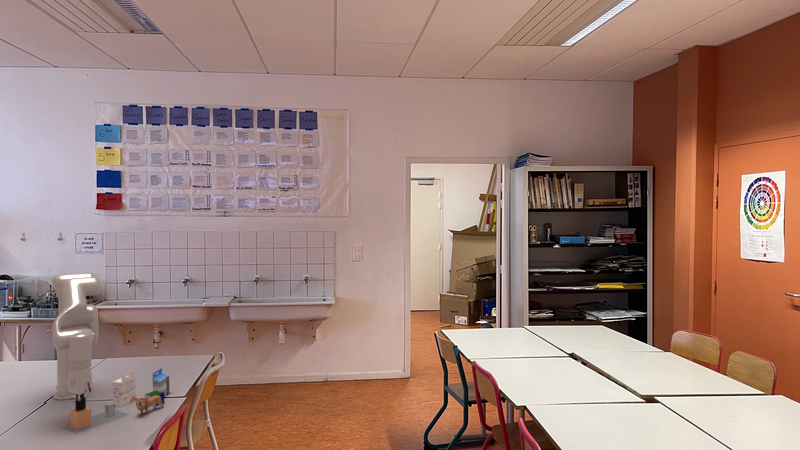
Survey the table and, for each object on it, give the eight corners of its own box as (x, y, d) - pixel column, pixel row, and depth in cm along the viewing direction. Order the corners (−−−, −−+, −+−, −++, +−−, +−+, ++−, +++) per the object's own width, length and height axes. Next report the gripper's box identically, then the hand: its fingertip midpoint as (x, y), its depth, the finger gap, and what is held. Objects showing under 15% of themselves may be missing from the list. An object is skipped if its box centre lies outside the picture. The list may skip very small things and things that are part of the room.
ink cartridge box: (126, 400, 234) (126, 368, 234) (135, 401, 233) (135, 369, 233) (112, 407, 226) (112, 374, 225) (122, 408, 225) (121, 375, 224)
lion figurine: (142, 420, 212) (142, 399, 212) (132, 419, 213) (132, 397, 213) (167, 407, 226) (167, 387, 226) (157, 406, 227) (157, 386, 227)
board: (59, 429, 202) (59, 427, 202) (113, 410, 222) (113, 409, 222) (76, 435, 197) (76, 433, 197) (130, 416, 216) (130, 414, 216)
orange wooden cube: (70, 426, 203) (70, 410, 203) (83, 422, 207) (83, 406, 207) (77, 429, 200) (77, 413, 200) (90, 424, 205) (90, 408, 205)
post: (105, 416, 214) (105, 404, 214) (111, 414, 216) (111, 402, 216) (108, 417, 213) (108, 405, 213) (114, 415, 215) (114, 403, 215)
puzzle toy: (155, 402, 232) (155, 390, 232) (164, 404, 230) (164, 392, 230) (144, 406, 227) (144, 394, 227) (154, 408, 224) (154, 396, 224)
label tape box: (160, 399, 236) (160, 373, 235) (152, 399, 236) (152, 373, 235) (169, 393, 244) (169, 367, 244) (161, 392, 244) (161, 367, 244)
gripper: (60, 363, 204) (60, 408, 204) (81, 369, 197) (81, 416, 197) (79, 359, 210) (79, 403, 211) (100, 364, 203) (100, 409, 203)
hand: (80, 409), depth 204 cm, fingers closed
